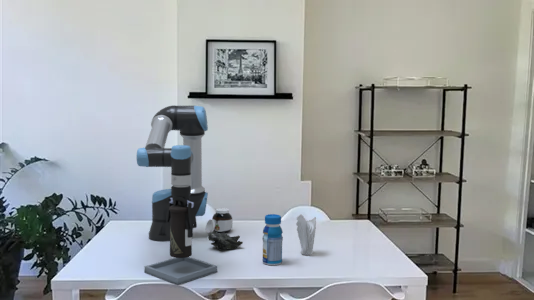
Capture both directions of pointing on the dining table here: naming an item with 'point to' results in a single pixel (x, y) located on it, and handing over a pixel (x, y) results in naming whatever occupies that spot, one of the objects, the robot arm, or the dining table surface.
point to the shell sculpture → (306, 234)
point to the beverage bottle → (272, 240)
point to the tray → (180, 270)
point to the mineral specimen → (224, 241)
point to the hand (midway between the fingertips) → (181, 243)
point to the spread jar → (220, 222)
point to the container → (178, 233)
